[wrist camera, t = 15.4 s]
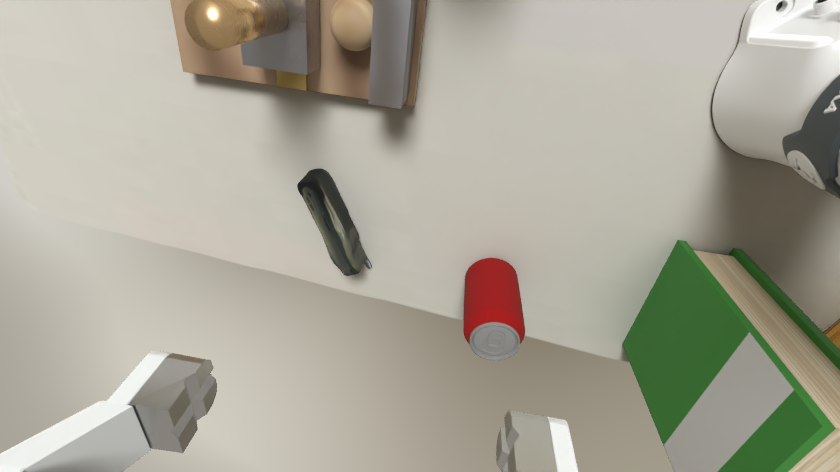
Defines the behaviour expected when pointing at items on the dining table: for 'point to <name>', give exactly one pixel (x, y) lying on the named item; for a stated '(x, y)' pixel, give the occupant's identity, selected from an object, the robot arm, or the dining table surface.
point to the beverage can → (493, 309)
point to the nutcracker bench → (335, 52)
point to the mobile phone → (333, 221)
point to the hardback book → (735, 369)
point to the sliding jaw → (260, 31)
